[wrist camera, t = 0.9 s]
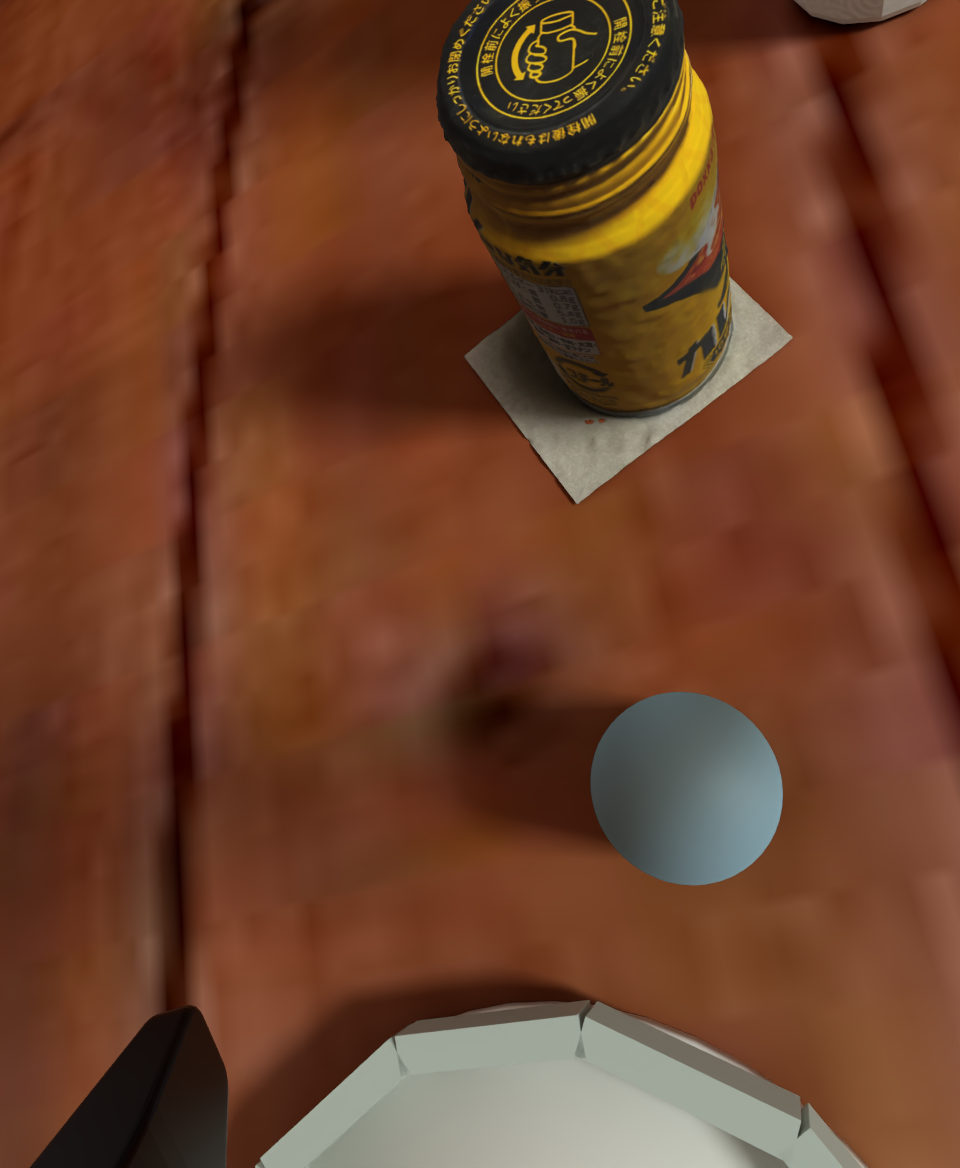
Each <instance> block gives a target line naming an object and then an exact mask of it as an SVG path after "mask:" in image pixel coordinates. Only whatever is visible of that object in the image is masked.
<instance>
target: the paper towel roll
mask: <svg viewBox="0 0 960 1168" xmlns="http://www.w3.org/2000/svg"><path fill="white" fill-rule="evenodd" d="M794 1H795V2H796V3H798V4H799V5H800V6H801V7H802V8H803V9H804V10H805V11H807V12H808V13H809V14H810V15H811V16H814V17H818V18H821V19H825V20H829V21H833V22H836V23H840V24H852V23H864V22H875V21H882V20H885V19H887V18H890V17H893V16H895V15H898V14H900V13H903V12H906V11H908V10H911V9H913V8H916V7H919V6H920V5H922V4H923V3H924V2H926V1H927V0H794Z"/></svg>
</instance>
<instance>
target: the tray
mask: <svg viewBox="0 0 960 1168" xmlns="http://www.w3.org/2000/svg"><path fill="white" fill-rule="evenodd" d="M260 1159H261V1161H260V1162H259V1163H258V1164H256V1166H255V1168H869V1167H868V1166H867V1165H866V1164H865V1162H864V1161H863V1160H862V1159H861V1158H860V1157H859V1156H858V1155H857V1154H856V1153H855V1152H854V1151H853V1150H852V1148H851V1147H850V1146H849V1145H848V1144H847V1143H846V1142H845V1141H844V1140H843V1139H842V1138H840V1137H839V1136H838V1135H837V1134H836V1133H835V1132H834V1131H832V1130H831V1129H830V1128H829V1127H828V1126H827V1125H826V1124H825V1122H824V1121H823V1120H822V1119H821V1118H820V1116H819V1115H818V1114H817V1113H816V1112H815V1110H814V1109H813V1108H812V1107H811V1106H810V1104H809V1103H807V1104H806V1105H805V1106H804V1105H803V1104H802V1103H800V1096H798V1095H796V1094H794V1093H792V1092H790V1091H787V1090H785V1089H783V1088H781V1087H779V1086H777V1085H776V1084H774V1083H773V1082H772V1081H770V1080H769V1079H767V1078H766V1077H764V1076H763V1075H762V1074H760V1073H759V1072H757V1071H756V1070H754V1069H753V1068H752V1067H750V1066H749V1065H747V1064H746V1063H744V1062H742V1061H740V1060H738V1059H736V1058H735V1057H733V1056H731V1055H729V1054H727V1053H725V1052H723V1051H722V1050H720V1049H718V1048H716V1047H714V1046H712V1045H711V1044H709V1043H707V1042H705V1041H703V1040H701V1039H699V1038H698V1037H696V1036H693V1035H690V1034H688V1033H685V1032H683V1031H680V1030H678V1029H675V1028H673V1027H670V1026H667V1025H665V1024H662V1023H660V1022H657V1021H655V1020H652V1019H650V1018H647V1017H643V1016H639V1015H635V1014H631V1013H627V1012H623V1011H619V1010H615V1009H613V1008H611V1007H609V1006H607V1005H605V1004H603V1003H601V1002H598V1001H597V1002H596V1004H595V1005H591V1003H590V1000H584V1001H575V1002H558V1001H542V1002H520V1003H507V1004H502V1005H497V1006H492V1007H487V1008H482V1009H477V1010H472V1011H468V1012H465V1013H462V1014H460V1015H457V1016H451V1017H443V1018H435V1019H427V1020H418V1021H416V1022H415V1023H413V1024H410V1025H408V1026H407V1027H405V1028H404V1029H403V1030H401V1031H400V1032H398V1033H397V1034H395V1035H394V1036H392V1037H391V1038H390V1039H388V1040H387V1041H386V1042H385V1043H384V1044H383V1045H382V1046H381V1047H380V1048H379V1049H377V1050H376V1051H375V1052H374V1053H373V1054H372V1055H371V1056H370V1057H369V1058H368V1059H367V1060H366V1061H364V1062H363V1063H362V1064H361V1065H360V1066H359V1067H358V1068H357V1069H356V1070H355V1071H354V1072H353V1073H352V1074H350V1075H349V1076H348V1077H347V1078H346V1079H345V1080H344V1081H343V1082H342V1083H341V1084H340V1085H339V1086H338V1087H336V1088H335V1089H334V1090H333V1091H332V1092H331V1093H330V1094H329V1095H328V1096H327V1097H326V1098H325V1099H323V1100H322V1101H321V1102H320V1103H319V1104H318V1105H317V1106H316V1107H315V1108H314V1109H313V1110H312V1111H311V1112H309V1113H308V1114H307V1115H306V1116H305V1117H304V1118H303V1119H302V1120H301V1121H300V1122H299V1123H298V1124H296V1125H295V1126H294V1127H293V1128H292V1129H291V1130H290V1131H289V1132H288V1133H287V1134H286V1135H285V1136H284V1137H282V1138H281V1139H280V1140H279V1141H278V1142H277V1143H276V1144H275V1145H274V1146H273V1147H272V1148H271V1149H269V1150H268V1151H267V1152H266V1153H265V1154H264V1155H263V1156H262V1157H261V1158H260Z"/></svg>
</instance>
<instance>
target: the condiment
mask: <svg viewBox="0 0 960 1168" xmlns="http://www.w3.org/2000/svg"><path fill="white" fill-rule="evenodd" d="M683 31H684V19H683V13H682V11H681V9H680V7H679V5H678V0H472V1H471V2H470V3H469V4H468V6H467V7H466V8H465V10H464V11H463V13H462V14H461V16H460V17H459V18H458V20H457V21H456V22H455V23H454V24H453V26H452V28H451V31H450V33H449V36H448V38H447V40H446V42H445V44H444V46H443V51H442V56H441V61H440V69H439V75H438V81H437V96H436V101H437V108H438V119H439V122H440V124H441V127H442V128H443V130H444V138H445V140H446V141H448V142H449V143H450V145H451V146H452V148H453V150H454V152H455V153H456V155H457V161H458V165H459V168H460V169H461V172H462V175H463V177H464V185H465V192H464V193H465V200H466V202H467V207H468V213H469V214H470V216H471V219H472V221H473V222H474V225H475V227H476V229H477V231H478V233H479V235H480V237H481V240H482V241H483V243H484V244H485V245H486V247H487V249H488V251H489V253H490V254H491V256H492V258H493V259H494V261H495V263H496V265H497V267H498V268H499V270H500V272H501V274H502V276H503V277H504V279H505V281H506V282H507V284H508V286H509V288H510V289H511V291H512V293H513V295H514V296H515V298H516V300H517V302H518V304H519V305H520V308H521V309H522V310H520V311H519V312H518V313H517V314H516V315H515V316H514V317H513V318H512V319H510V320H509V321H508V322H506V323H505V324H504V325H503V326H502V327H500V328H499V329H497V330H496V331H494V332H493V333H492V334H490V335H489V336H487V337H486V338H484V339H483V340H482V341H481V342H480V343H479V344H478V345H477V346H476V347H474V348H473V349H472V350H471V351H470V352H468V353H467V354H466V355H465V356H464V357H465V359H466V360H467V361H468V362H469V364H470V365H471V366H472V368H473V369H474V370H475V371H476V373H477V374H478V375H479V377H480V378H481V379H482V381H483V382H484V383H485V385H486V386H487V387H488V389H489V390H490V391H491V392H492V394H493V395H494V396H495V398H496V399H497V400H498V401H499V403H500V404H501V406H502V407H503V408H504V409H505V411H506V412H507V413H508V414H509V416H510V417H511V418H512V420H513V421H514V422H515V424H516V425H517V426H518V428H519V429H520V430H521V432H522V433H523V434H524V436H525V437H526V438H527V439H528V440H529V441H530V444H531V445H532V446H533V447H534V449H535V450H536V451H537V452H538V454H539V455H540V456H541V458H542V459H543V460H544V462H545V463H546V464H547V466H548V467H549V468H550V469H551V471H552V472H553V473H554V475H555V476H556V477H557V478H558V480H559V481H560V482H561V484H562V485H563V486H564V488H565V489H566V490H567V492H568V493H569V494H570V496H571V497H572V498H573V499H574V501H575V502H576V503H577V504H578V503H579V502H580V501H582V500H583V499H584V498H586V497H587V496H588V495H590V494H591V493H592V492H593V491H594V490H595V489H597V488H598V487H599V486H601V485H602V484H603V483H605V482H606V481H608V480H609V479H611V478H612V477H613V476H614V475H616V474H617V473H618V472H619V471H620V470H621V469H622V468H624V467H625V466H626V465H628V464H629V463H631V462H632V461H633V460H635V459H636V458H637V457H639V456H640V455H641V454H643V453H644V452H645V451H647V450H648V449H649V448H650V447H651V446H653V445H654V444H655V443H657V442H659V441H660V440H661V439H663V438H664V437H665V436H666V435H668V434H669V433H670V432H672V431H673V430H675V429H676V428H677V427H679V426H680V425H682V424H683V423H684V422H686V421H687V420H689V419H690V418H691V417H693V416H694V415H695V414H697V413H698V412H699V411H701V410H702V409H703V408H704V407H705V406H707V405H708V404H709V403H711V402H712V401H713V400H714V399H716V398H717V397H718V396H720V395H721V394H723V393H724V392H725V391H726V390H728V389H729V388H730V387H731V386H733V385H734V384H736V383H737V382H738V381H740V380H741V379H742V378H744V377H745V376H746V375H747V374H749V373H750V372H751V371H752V370H753V369H754V368H756V367H757V366H758V365H760V364H762V363H763V362H764V361H766V360H767V359H768V358H769V357H771V356H772V355H773V354H774V353H776V352H777V351H778V350H779V349H781V348H782V347H783V346H784V345H785V344H786V343H787V342H788V341H789V340H790V339H792V338H793V337H792V336H791V335H789V334H788V333H787V332H786V331H785V330H784V329H783V328H782V327H781V326H780V325H779V324H778V323H777V322H776V321H775V320H774V319H773V318H772V317H771V316H770V315H769V314H768V313H767V312H765V311H764V310H763V309H762V308H761V306H760V305H759V304H758V303H756V302H755V301H754V300H753V299H752V298H751V297H750V296H749V295H748V294H747V293H745V292H744V291H743V290H742V289H741V288H740V286H739V285H738V284H737V283H736V282H734V281H733V280H732V279H731V278H730V277H729V265H728V256H727V253H728V249H727V246H726V241H725V234H724V221H723V216H722V205H721V199H720V186H719V175H718V166H717V146H716V136H715V130H714V126H713V115H712V110H711V106H710V102H709V98H708V94H707V91H706V89H705V87H704V85H703V83H702V81H701V80H700V79H699V77H698V75H697V74H696V72H695V71H694V70H693V69H692V67H691V64H690V60H689V57H688V54H687V52H686V50H685V43H684V32H683ZM600 418H603V419H605V422H604V423H599V421H598V420H599V419H600ZM585 420H593V421H594V423H593V424H586V423H585V422H584V421H585Z"/></svg>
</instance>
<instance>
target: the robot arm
mask: <svg viewBox="0 0 960 1168" xmlns="http://www.w3.org/2000/svg"><path fill="white" fill-rule="evenodd" d="M227 1119H228V1080H227V1073H226V1069H225V1066H224V1063H223V1061H222V1058H221V1056H220V1054H219V1051H218V1049H217V1047H216V1044H215V1042H214V1040H213V1038H212V1035H211V1033H210V1031H209V1028H208V1026H207V1024H206V1021H205V1019H204V1017H203V1015H202V1013H201V1012H200V1010H199V1009H198V1008H197V1007H195V1006H191V1005H187V1006H184V1007H180V1008H177V1009H173V1010H170V1011H166V1012H163V1013H160V1014H157V1015H155V1016H153V1017H151V1018H150V1019H149V1020H148V1021H147V1022H146V1023H145V1024H144V1026H143V1027H142V1028H141V1029H140V1031H139V1032H138V1033H137V1034H136V1036H135V1037H134V1038H133V1039H132V1041H131V1042H130V1043H129V1044H128V1046H127V1047H126V1048H125V1049H124V1051H123V1052H122V1053H121V1054H120V1056H119V1057H118V1058H117V1059H116V1061H115V1062H114V1063H113V1064H112V1066H111V1067H110V1068H109V1069H108V1071H107V1072H106V1073H105V1074H104V1076H103V1077H102V1078H101V1079H100V1081H99V1082H98V1083H97V1084H96V1086H95V1087H94V1088H93V1089H92V1091H91V1092H90V1093H89V1094H88V1096H87V1097H86V1098H85V1099H84V1101H83V1102H82V1103H81V1104H80V1106H79V1107H78V1108H77V1109H76V1111H75V1112H74V1113H73V1114H72V1116H71V1117H70V1118H69V1119H68V1121H67V1122H66V1123H65V1124H64V1126H63V1127H62V1128H61V1129H60V1131H59V1132H58V1133H57V1134H56V1136H55V1137H54V1138H53V1139H52V1141H51V1142H50V1143H49V1144H48V1146H47V1147H46V1148H45V1149H44V1151H43V1152H42V1153H41V1154H40V1156H39V1157H38V1158H37V1159H36V1161H35V1162H34V1163H33V1164H32V1166H31V1167H30V1168H226V1148H227Z"/></svg>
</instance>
